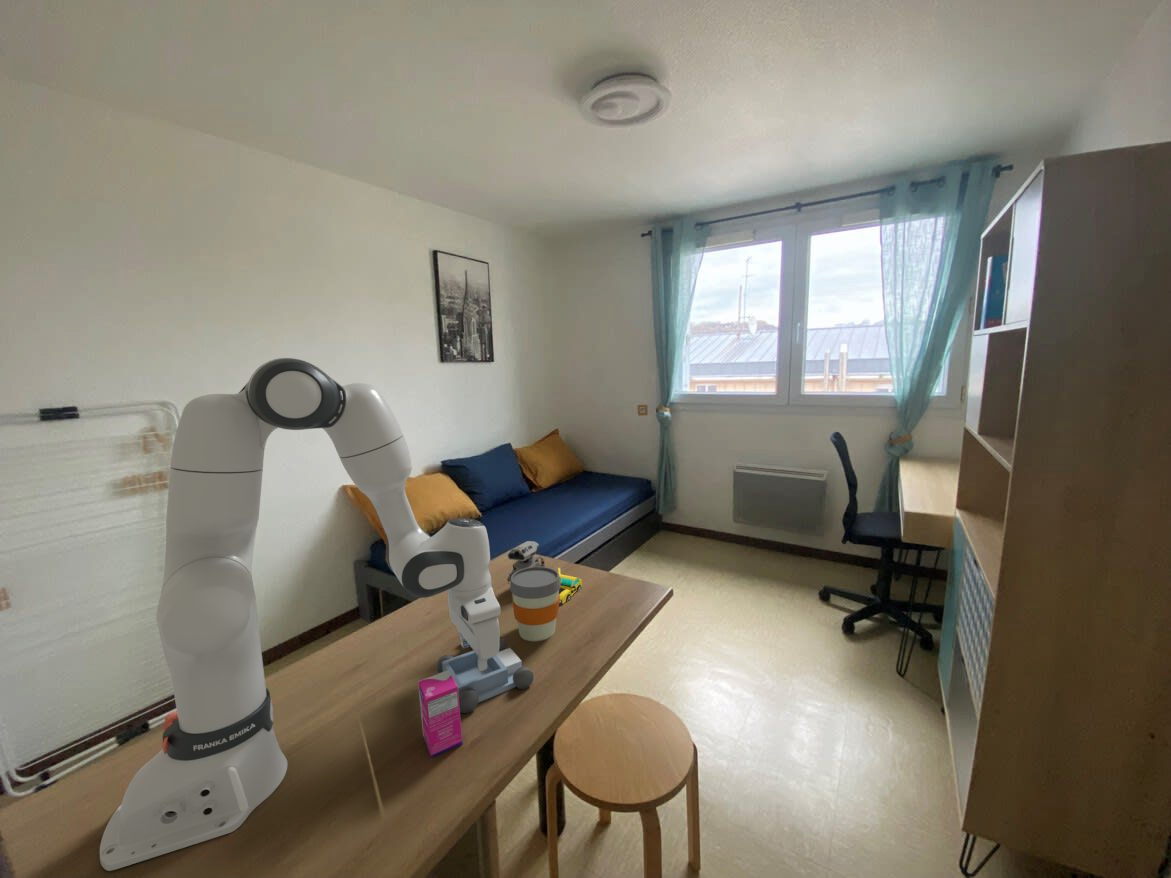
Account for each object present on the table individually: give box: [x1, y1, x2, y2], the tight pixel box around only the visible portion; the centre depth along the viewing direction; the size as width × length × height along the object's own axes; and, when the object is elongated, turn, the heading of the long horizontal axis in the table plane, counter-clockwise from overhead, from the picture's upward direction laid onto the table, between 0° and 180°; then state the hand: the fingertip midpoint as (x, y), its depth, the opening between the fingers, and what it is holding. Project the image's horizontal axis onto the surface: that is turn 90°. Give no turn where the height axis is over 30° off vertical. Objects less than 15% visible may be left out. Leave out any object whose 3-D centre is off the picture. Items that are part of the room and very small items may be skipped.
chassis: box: [435, 636, 534, 714], centre depth 100 cm, size 16×15×4 cm
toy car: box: [557, 567, 583, 604], centre depth 136 cm, size 12×8×8 cm, turn 153°
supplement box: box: [417, 670, 464, 758], centre depth 83 cm, size 6×6×12 cm
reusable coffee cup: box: [509, 566, 561, 642], centre depth 117 cm, size 13×13×15 cm
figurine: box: [507, 540, 546, 582], centre depth 139 cm, size 9×12×15 cm
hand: (473, 657), depth 98 cm, fingers open, 8 cm apart
